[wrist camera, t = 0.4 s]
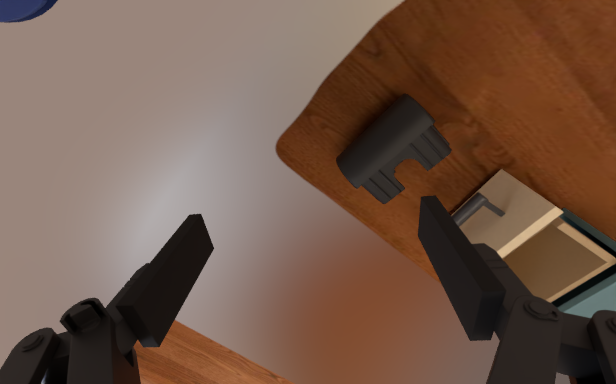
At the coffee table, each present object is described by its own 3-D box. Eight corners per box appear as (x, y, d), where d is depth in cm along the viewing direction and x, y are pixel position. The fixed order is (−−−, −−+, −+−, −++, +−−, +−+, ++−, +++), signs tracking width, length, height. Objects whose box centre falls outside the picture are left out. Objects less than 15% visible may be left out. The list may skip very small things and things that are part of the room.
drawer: (401, 226, 38) (421, 273, 30) (476, 151, 32) (525, 184, 24) (480, 272, 41) (517, 325, 33) (561, 211, 35) (628, 258, 27)
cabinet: (477, 272, 42) (521, 336, 33) (564, 207, 36) (648, 263, 26) (531, 303, 45) (585, 370, 35) (620, 247, 38) (715, 312, 29)
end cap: (397, 87, 30) (415, 97, 24) (435, 130, 32) (460, 149, 26) (333, 149, 34) (336, 171, 28) (371, 183, 36) (380, 211, 30)
